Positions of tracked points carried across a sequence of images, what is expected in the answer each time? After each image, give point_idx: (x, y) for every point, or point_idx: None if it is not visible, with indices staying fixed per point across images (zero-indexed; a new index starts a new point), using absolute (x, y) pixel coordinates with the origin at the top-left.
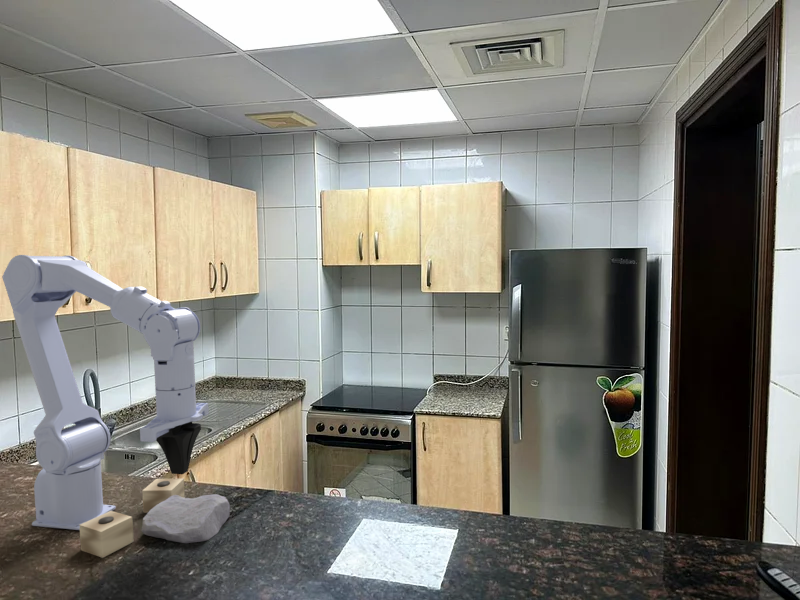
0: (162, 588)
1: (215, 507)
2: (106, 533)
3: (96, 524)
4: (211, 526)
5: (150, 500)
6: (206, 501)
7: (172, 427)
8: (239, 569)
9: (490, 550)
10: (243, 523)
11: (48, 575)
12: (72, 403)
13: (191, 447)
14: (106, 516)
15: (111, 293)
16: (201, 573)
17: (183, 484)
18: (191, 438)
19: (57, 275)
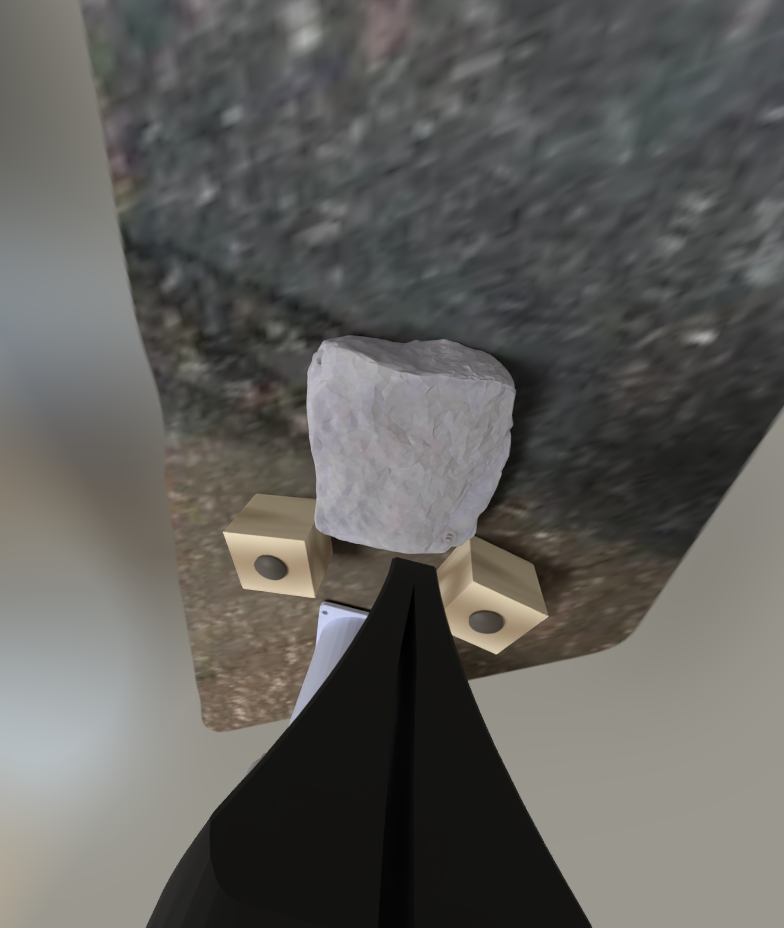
0: (766, 393)
1: (411, 372)
2: (534, 601)
3: (502, 631)
4: (470, 358)
5: (322, 563)
6: (379, 418)
7: None
8: (776, 132)
9: None
10: (385, 262)
11: (579, 618)
12: None
13: (364, 673)
14: (461, 625)
15: None
16: (727, 299)
17: (236, 521)
18: (384, 788)
19: None
